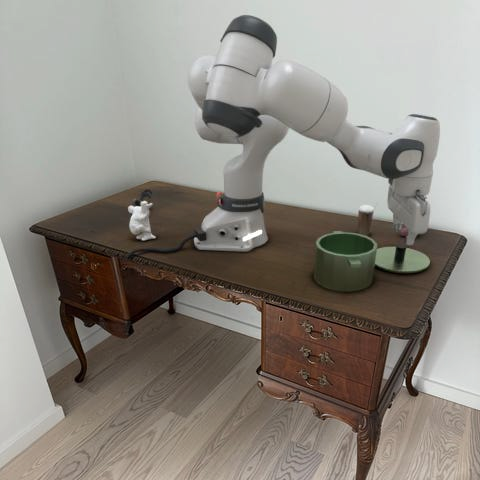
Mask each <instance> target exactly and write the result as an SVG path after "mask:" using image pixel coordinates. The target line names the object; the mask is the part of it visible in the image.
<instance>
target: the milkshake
mask: <svg viewBox="0 0 480 480" xmlns="http://www.w3.org/2000/svg"><path fill="white" fill-rule="evenodd" d="M377 206H378V202H377V203H376V205H375V207H373V205H370V204H362V205H360V206H359V207H358V213H357V214H358V215H357V218H358V220H357V234H360V235H364V236H367V237H369V235H370V231H371V226H372V222H373V221H372V220H373V216H374V212H375V209H376V207H377Z"/></svg>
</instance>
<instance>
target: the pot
mask: <svg viewBox="0 0 480 480" xmlns="http://www.w3.org/2000/svg"><path fill="white" fill-rule="evenodd" d="M378 246H379V245H378V243H377V241H376V240H374V239H373V238H371V237H369V236H364V235H360V234H358V232H357V233H355V232H347V231H346V232H345V231H343V230H333V231H332V233H326V234H323V235H321V236H320V237H318V238H317V240H316V241H315V248H314V249H315V250H314V265H313V278H314V281H315V282H316V283H317V285H319V286H321V287H323V288H324V289H326V290H330V291H335V292H340V293H341V292H342V293H351V292H359V291H362V290H365V289H367V288H369V287H370V286H371V285H372V283H373V280H374V274H375V273H374V272H375V267H376V266H375V260H376V253H377V249H378Z"/></svg>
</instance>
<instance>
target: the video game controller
mask: <svg viewBox="0 0 480 480" xmlns="http://www.w3.org/2000/svg"><path fill="white" fill-rule="evenodd" d="M408 234H409V233H408V229H407V228H406V227H404V228H401V231H399V235H400V236H401V237H407V236H408Z"/></svg>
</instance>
